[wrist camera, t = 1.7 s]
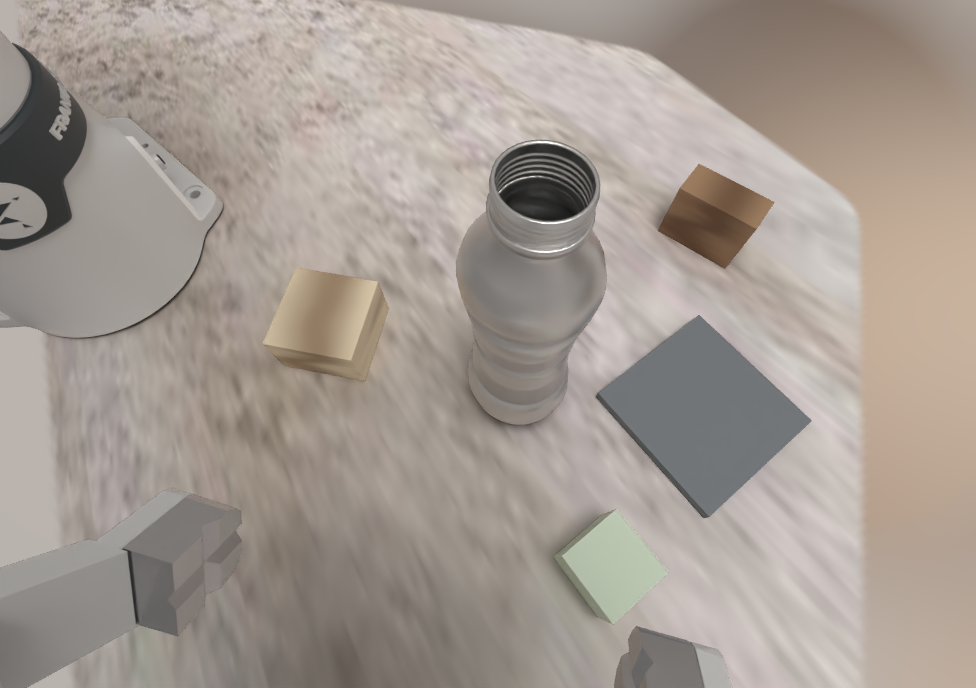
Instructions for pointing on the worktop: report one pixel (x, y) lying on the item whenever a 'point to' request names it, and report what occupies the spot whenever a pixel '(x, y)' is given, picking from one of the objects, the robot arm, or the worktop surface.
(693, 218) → the walnut brick
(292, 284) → the beech brick
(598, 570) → the sage brick
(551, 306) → the plastic bottle
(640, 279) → the worktop surface
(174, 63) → the worktop surface
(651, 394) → the mat
